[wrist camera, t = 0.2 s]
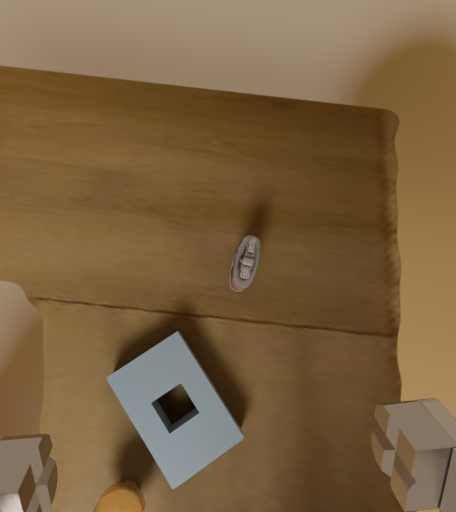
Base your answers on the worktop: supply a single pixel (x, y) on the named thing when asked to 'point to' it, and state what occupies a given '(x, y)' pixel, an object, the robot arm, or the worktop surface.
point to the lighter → (245, 263)
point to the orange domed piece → (121, 498)
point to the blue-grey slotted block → (186, 428)
